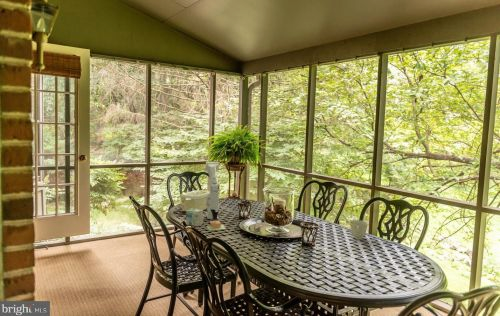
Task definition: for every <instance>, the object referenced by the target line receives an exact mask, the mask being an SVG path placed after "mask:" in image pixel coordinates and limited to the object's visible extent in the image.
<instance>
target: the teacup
mask: <svg viewBox="0 0 500 316" xmlns="http://www.w3.org/2000/svg"><path fill="white" fill-rule="evenodd" d="M348 224H349V226H350V227H349V228H350V234H351V235H352V236H353V238H354V239H356V240H362V239H363V238H364V237H365V236H366V235H367V229H368V225H369V223H368V222H367V221H365V220H358V219H353V220H349V221H348Z"/></svg>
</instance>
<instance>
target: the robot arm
mask: <svg viewBox="0 0 500 316" xmlns="http://www.w3.org/2000/svg"><path fill="white" fill-rule="evenodd" d="M219 169H220V162H219V161H206V162H205V172H206V173H208V179H209V180H208V181H209V182H208V183H209V184H208V185H209V187H208V189H209V190H208V191H209V194H208V195H207V196H206V206H208V208H207V209H206V212H207V213H206V214H207V215H206V218H207V219H209V220H212V221H218V220H217V219H219V217H218V215H219V212H220V191H221V190H220V183H219V178H218V176H217V173H218V172H219Z"/></svg>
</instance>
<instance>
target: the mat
mask: <svg viewBox="0 0 500 316" xmlns="http://www.w3.org/2000/svg"><path fill="white" fill-rule="evenodd" d="M205 227H206V229H207V230H208V231H209V232H210V231H221V230H222V231H223V230H226V229H227V228H226V226H225V225H224V224H221V227H220V228H212V227H211V226H210V225H207V226H205Z"/></svg>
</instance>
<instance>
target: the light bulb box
mask: <svg viewBox="0 0 500 316" xmlns="http://www.w3.org/2000/svg"><path fill="white" fill-rule="evenodd" d="M185 212H186V213H185V214H186V215H185V217H186V218H185V219H186V222H185V223H186V226H187V225H188V226H194V227H195V226H196V227H199V226H202V225H203V224H204V210H202V209H193V208H190V209H188V210H186V211H185Z"/></svg>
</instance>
